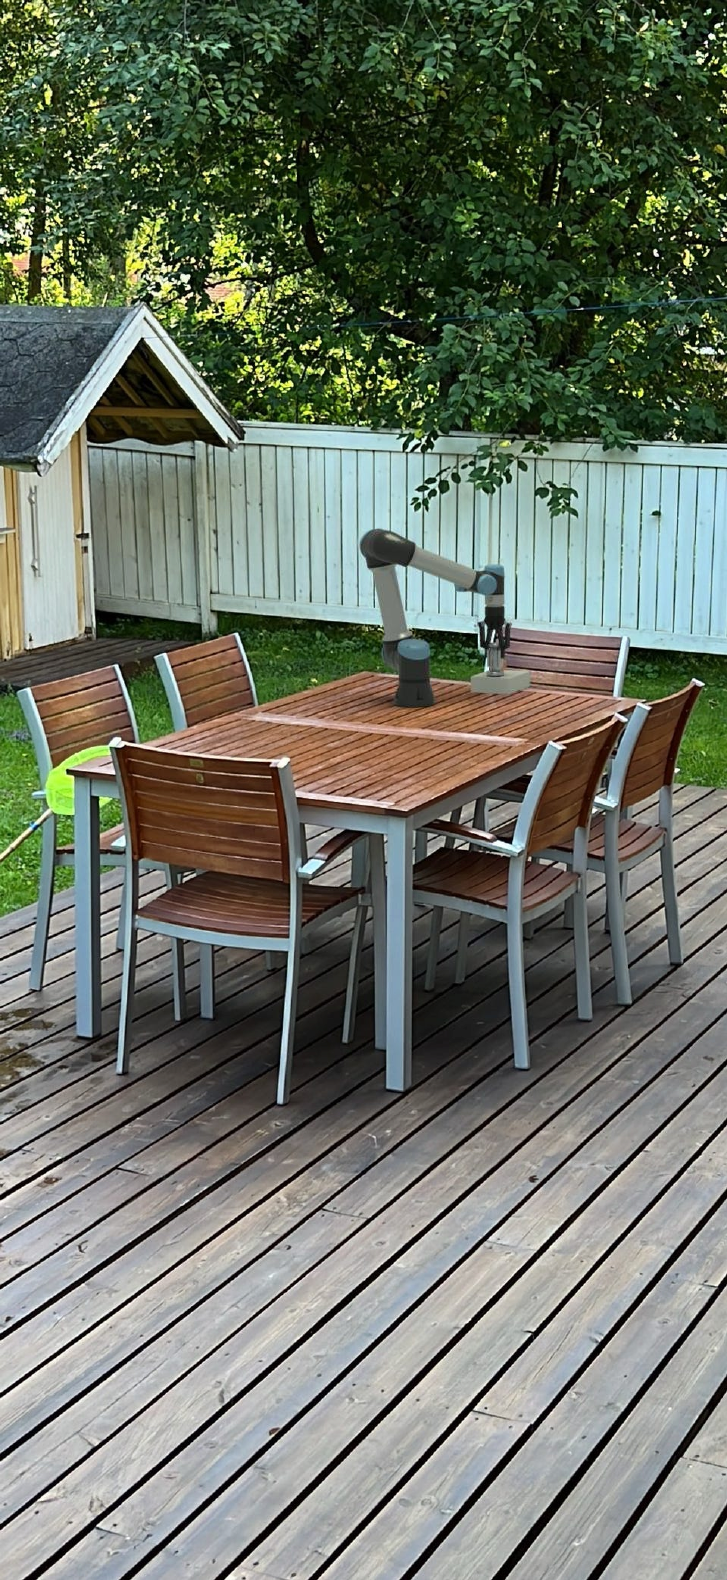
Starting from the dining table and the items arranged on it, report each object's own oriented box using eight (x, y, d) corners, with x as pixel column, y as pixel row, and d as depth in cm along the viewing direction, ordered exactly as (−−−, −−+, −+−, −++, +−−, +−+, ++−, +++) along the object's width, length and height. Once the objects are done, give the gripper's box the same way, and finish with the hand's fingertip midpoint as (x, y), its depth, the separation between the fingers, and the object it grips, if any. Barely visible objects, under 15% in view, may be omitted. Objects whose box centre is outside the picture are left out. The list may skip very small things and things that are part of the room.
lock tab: (496, 672, 694) (496, 664, 694) (488, 671, 696) (488, 664, 696) (508, 668, 704) (508, 660, 704) (500, 667, 706) (500, 660, 705)
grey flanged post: (483, 683, 687) (483, 644, 684) (490, 680, 693) (490, 641, 690) (499, 683, 684) (499, 644, 681) (506, 681, 690) (506, 642, 687)
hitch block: (470, 692, 689) (470, 676, 688) (492, 684, 706) (492, 669, 705) (509, 694, 681) (509, 678, 680) (530, 686, 699) (529, 671, 697)
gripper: (470, 605, 683) (470, 666, 688) (511, 607, 675) (511, 668, 680) (478, 603, 690) (478, 664, 695) (519, 605, 682) (519, 666, 687)
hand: (495, 666), depth 687 cm, fingers closed on grey flanged post, 4 cm apart
